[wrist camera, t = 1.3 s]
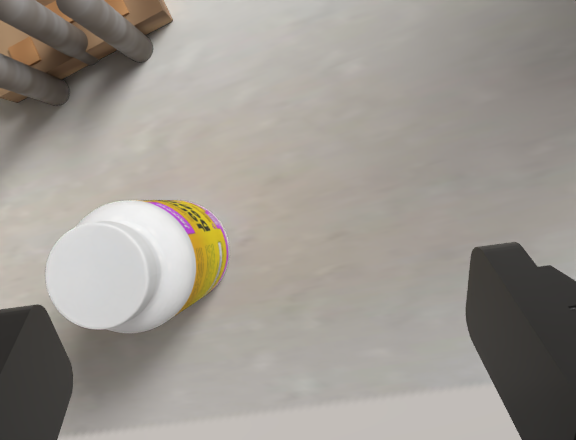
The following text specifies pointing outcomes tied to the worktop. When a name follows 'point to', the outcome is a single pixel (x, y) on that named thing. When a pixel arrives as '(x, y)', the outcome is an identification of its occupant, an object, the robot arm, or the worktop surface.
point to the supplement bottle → (136, 264)
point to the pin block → (69, 41)
